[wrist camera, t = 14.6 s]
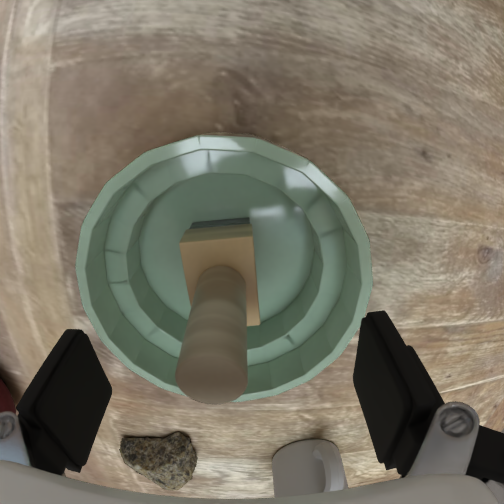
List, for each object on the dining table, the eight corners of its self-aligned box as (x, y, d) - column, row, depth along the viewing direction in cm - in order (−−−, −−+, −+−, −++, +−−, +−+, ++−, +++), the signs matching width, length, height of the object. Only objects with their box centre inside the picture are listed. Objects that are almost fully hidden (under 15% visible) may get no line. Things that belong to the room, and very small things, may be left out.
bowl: (207, 82, 16) (191, 65, 11) (383, 238, 19) (423, 277, 14) (80, 265, 20) (41, 307, 14) (242, 373, 23) (242, 429, 18)
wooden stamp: (189, 220, 18) (139, 323, 9) (251, 214, 18) (259, 316, 9) (202, 297, 20) (177, 426, 11) (257, 292, 20) (268, 423, 11)
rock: (213, 463, 29) (211, 497, 25) (152, 467, 30) (146, 498, 26) (186, 429, 26) (180, 468, 22) (119, 434, 27) (108, 468, 23)
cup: (264, 469, 30) (268, 536, 21) (290, 420, 26) (302, 504, 18) (324, 469, 30) (336, 532, 22) (360, 421, 27) (384, 496, 18)
